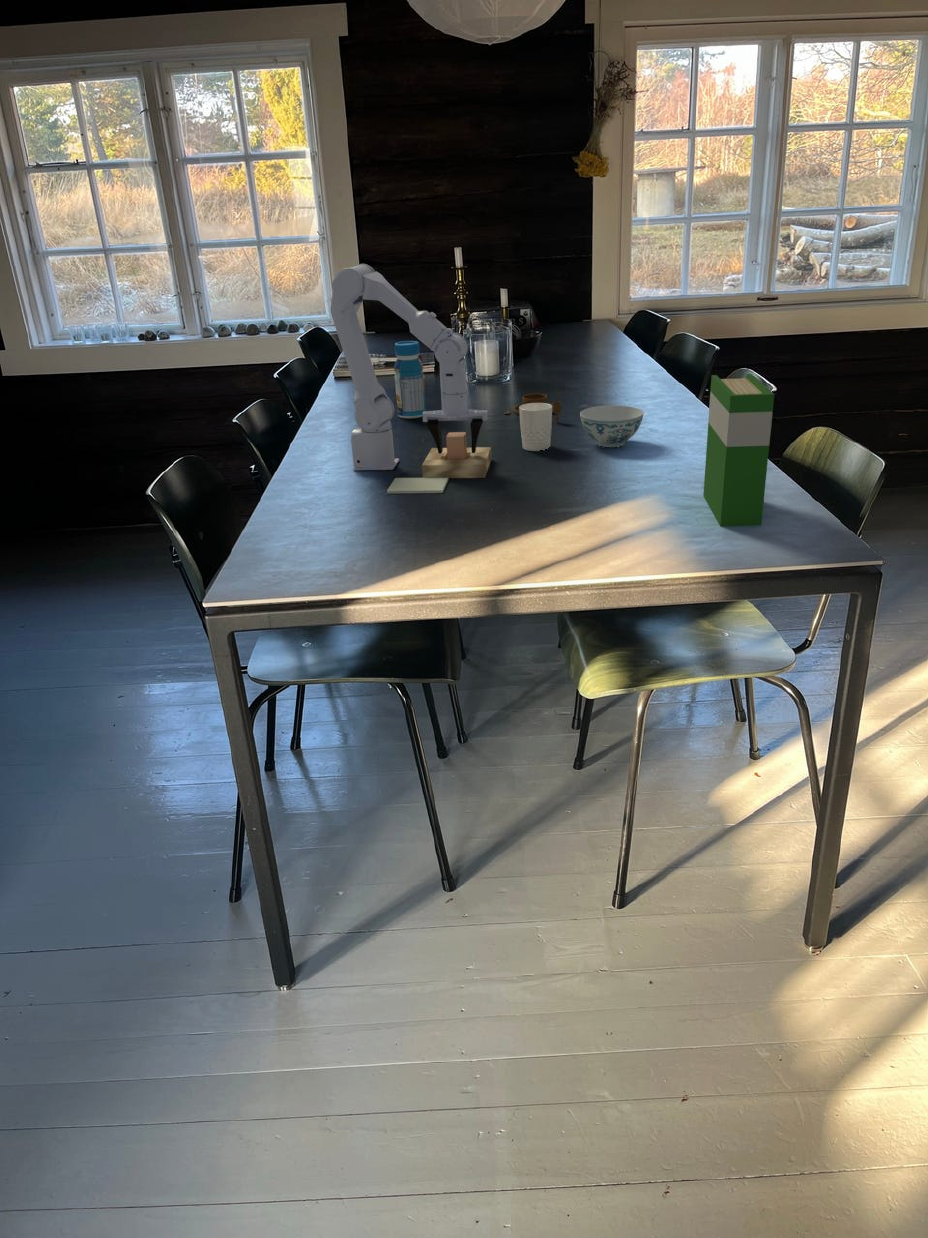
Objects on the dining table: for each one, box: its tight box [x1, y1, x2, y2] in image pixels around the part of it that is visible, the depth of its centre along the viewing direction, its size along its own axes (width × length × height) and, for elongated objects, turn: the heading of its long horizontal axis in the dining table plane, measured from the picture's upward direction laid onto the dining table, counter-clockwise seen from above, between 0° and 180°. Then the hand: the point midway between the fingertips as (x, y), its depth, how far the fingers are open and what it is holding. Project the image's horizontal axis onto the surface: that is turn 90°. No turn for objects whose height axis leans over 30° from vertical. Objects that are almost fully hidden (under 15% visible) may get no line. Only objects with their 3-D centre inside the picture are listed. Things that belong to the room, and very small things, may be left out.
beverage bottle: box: [393, 340, 427, 419], centre depth 254 cm, size 8×8×20 cm
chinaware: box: [579, 405, 645, 448], centre depth 220 cm, size 15×15×8 cm
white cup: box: [518, 403, 553, 452], centre depth 220 cm, size 8×8×10 cm
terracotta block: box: [445, 431, 468, 460], centre depth 208 cm, size 4×4×8 cm
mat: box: [386, 477, 449, 494], centre depth 199 cm, size 12×9×1 cm
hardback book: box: [703, 373, 775, 527], centre depth 171 cm, size 18×7×24 cm, turn 177°
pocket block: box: [421, 446, 492, 479], centre depth 209 cm, size 14×14×3 cm
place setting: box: [503, 393, 562, 422], centre depth 251 cm, size 18×20×6 cm
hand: (457, 452), depth 208 cm, fingers open, 7 cm apart
